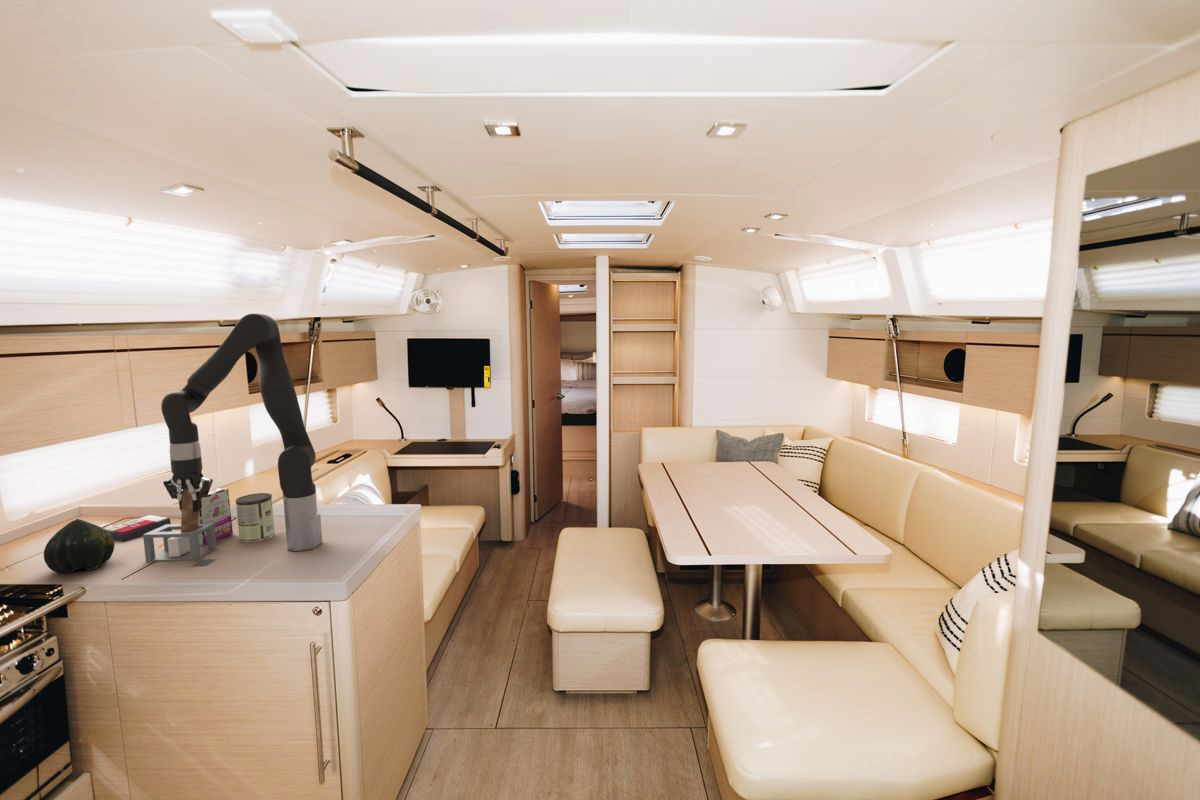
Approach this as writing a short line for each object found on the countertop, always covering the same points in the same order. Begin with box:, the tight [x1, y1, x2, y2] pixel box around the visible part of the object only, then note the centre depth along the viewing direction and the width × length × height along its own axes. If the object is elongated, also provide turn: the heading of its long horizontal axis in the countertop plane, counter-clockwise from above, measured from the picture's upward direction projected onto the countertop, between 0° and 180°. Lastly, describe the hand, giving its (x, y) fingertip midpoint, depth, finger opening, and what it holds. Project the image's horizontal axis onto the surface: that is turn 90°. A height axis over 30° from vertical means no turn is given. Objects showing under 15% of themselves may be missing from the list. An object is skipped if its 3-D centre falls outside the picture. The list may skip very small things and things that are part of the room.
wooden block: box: [180, 488, 199, 532], centre depth 165 cm, size 3×3×14 cm
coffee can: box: [235, 492, 276, 543], centre depth 182 cm, size 10×10×14 cm
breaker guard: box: [142, 523, 218, 563], centre depth 166 cm, size 15×9×9 cm, turn 92°
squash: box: [43, 518, 116, 574], centre depth 159 cm, size 14×15×15 cm
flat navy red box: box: [104, 514, 172, 542], centre depth 188 cm, size 11×4×15 cm
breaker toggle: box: [167, 537, 190, 557], centre depth 166 cm, size 3×5×7 cm, turn 2°
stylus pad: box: [191, 558, 218, 567], centre depth 161 cm, size 4×5×1 cm
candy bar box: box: [198, 487, 234, 546], centre depth 180 cm, size 11×5×16 cm, turn 168°
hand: (191, 511), depth 166 cm, fingers closed on wooden block, 3 cm apart
